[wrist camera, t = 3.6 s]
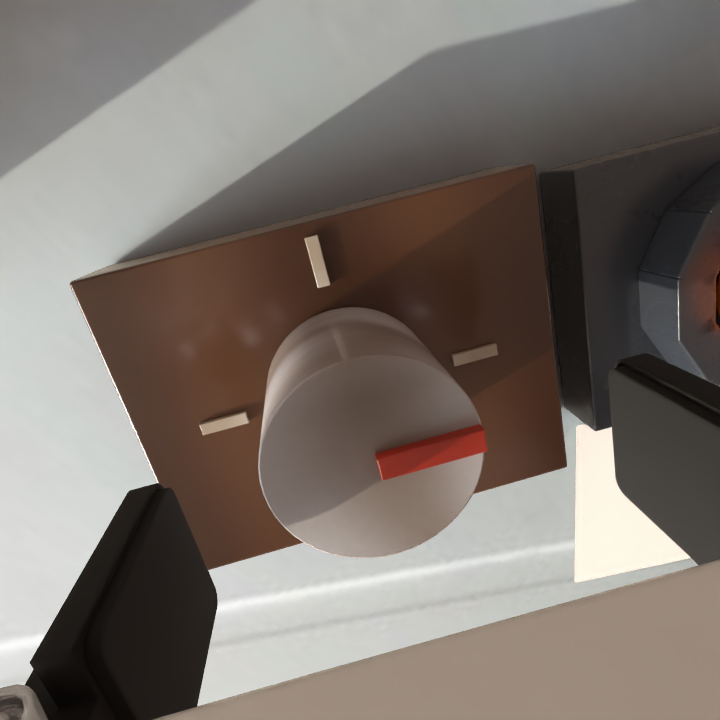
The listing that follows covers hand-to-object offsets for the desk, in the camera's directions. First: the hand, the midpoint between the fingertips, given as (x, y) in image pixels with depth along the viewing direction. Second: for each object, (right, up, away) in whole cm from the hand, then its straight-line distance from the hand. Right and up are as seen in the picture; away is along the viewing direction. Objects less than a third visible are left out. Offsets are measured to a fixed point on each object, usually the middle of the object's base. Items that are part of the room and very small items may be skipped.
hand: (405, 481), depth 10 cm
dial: (-1, +2, +5) cm, 5 cm away
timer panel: (-2, +3, +8) cm, 8 cm away
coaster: (+12, -3, +11) cm, 17 cm away
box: (+11, +6, +8) cm, 15 cm away
